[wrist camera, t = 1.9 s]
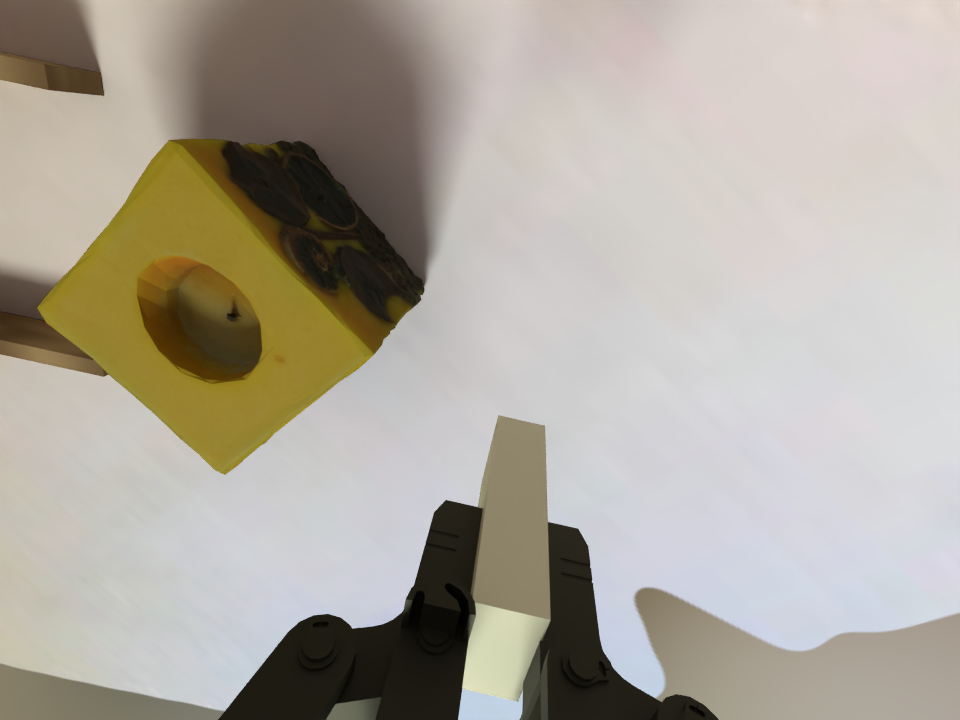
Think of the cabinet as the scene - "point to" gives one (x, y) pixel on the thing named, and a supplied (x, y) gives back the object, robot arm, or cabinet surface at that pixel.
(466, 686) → the robot arm
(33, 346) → the dock
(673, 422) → the cabinet surface
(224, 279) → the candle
